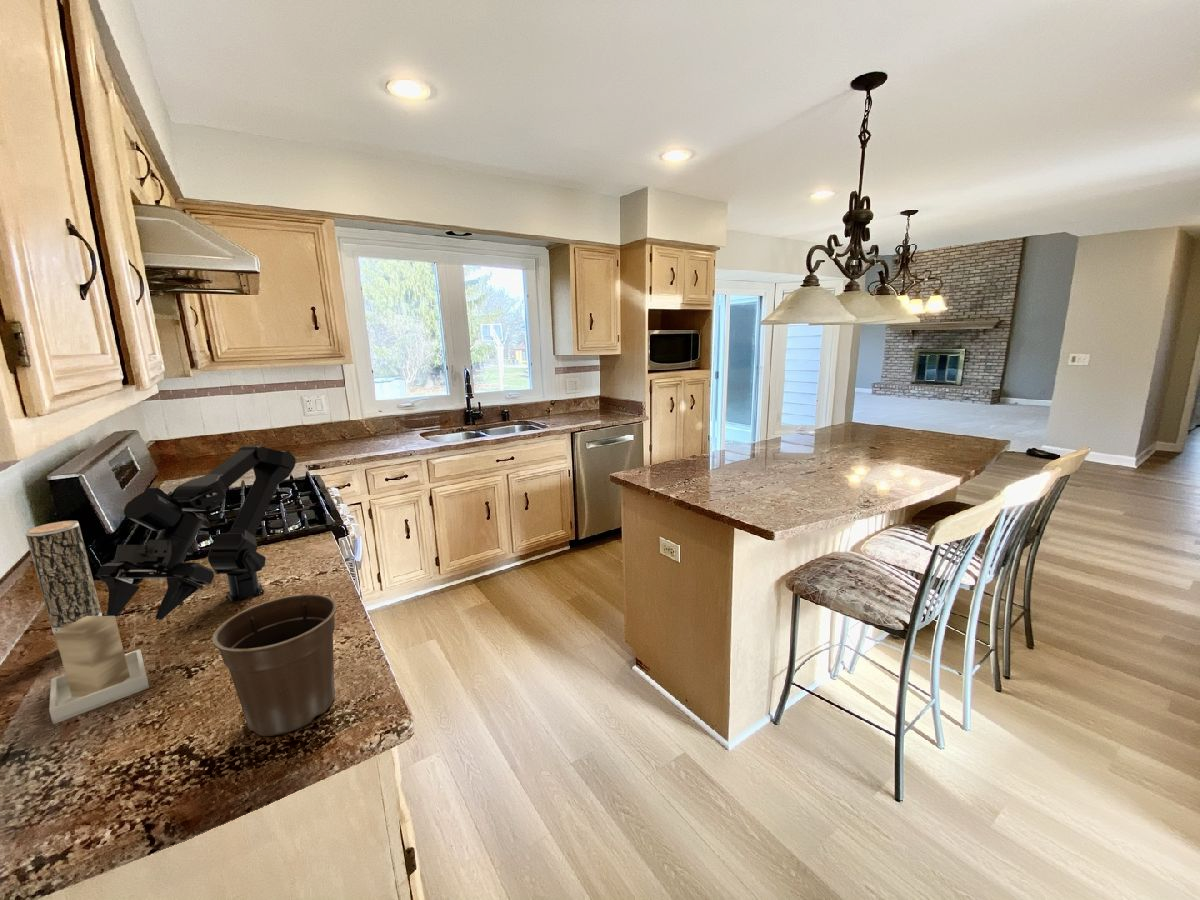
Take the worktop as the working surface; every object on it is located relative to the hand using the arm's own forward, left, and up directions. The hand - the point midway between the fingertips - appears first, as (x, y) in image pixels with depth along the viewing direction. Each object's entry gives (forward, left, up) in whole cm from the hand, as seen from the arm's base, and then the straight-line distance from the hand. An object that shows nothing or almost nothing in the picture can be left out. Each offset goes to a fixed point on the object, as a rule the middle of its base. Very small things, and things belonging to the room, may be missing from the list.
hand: (134, 619), depth 89 cm
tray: (+5, -6, -9) cm, 12 cm away
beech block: (+5, -6, -8) cm, 11 cm away
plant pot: (+35, +15, -9) cm, 39 cm away
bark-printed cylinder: (-17, -8, -9) cm, 21 cm away
